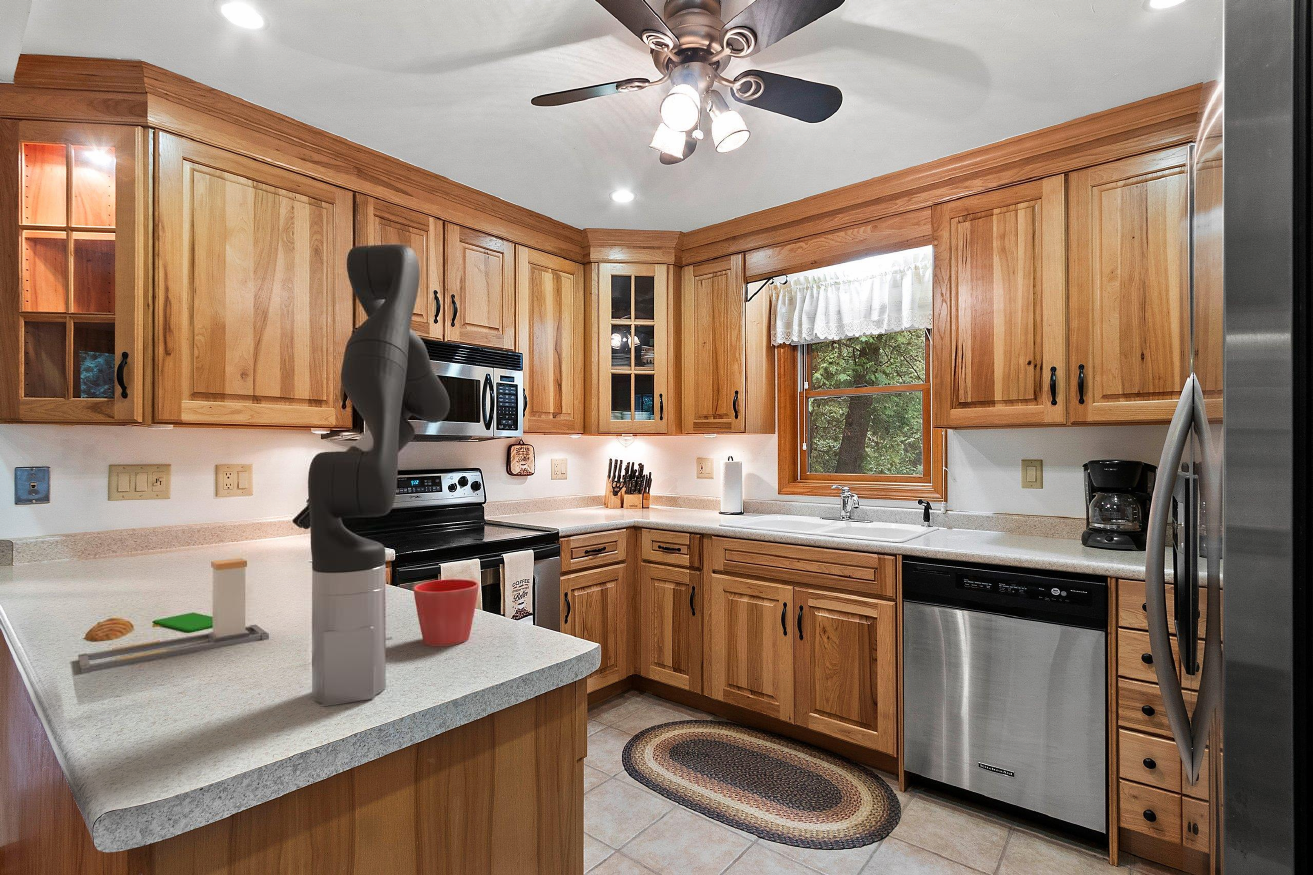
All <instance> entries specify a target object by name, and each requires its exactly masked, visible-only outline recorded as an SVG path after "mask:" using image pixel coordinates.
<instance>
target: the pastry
mask: <svg viewBox="0 0 1313 875" xmlns="http://www.w3.org/2000/svg"><path fill="white" fill-rule="evenodd" d="M133 631H135V626H134V624H133V623H132V622H131V621H129V620H127V619H125V618H120V617H110V618H107V619H105V620H103V621H98V622H97V623H96V624H95V625H93V626H92V627H91V628H90V629H89V630H87V632H86V633H85V635H84V639H85V640H87V641H90V642H95V643H96V642H99V643H100V642H108V641H113V640H117V639H121V638H122V637H125V636H127V635H129V634H130V633H133Z"/></svg>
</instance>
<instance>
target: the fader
mask: <svg viewBox="0 0 1313 875" xmlns="http://www.w3.org/2000/svg"><path fill="white" fill-rule="evenodd" d="M210 567H211V568H212V617H213V627H212V632H208V641H209V643H210V642H216V641H222V640H227V639H233V638H238V637H244V636H249V635H250V632H248V631H247V630H246V629H245V627H246V568H247V567H248V560H246V559H243V558H242V557H238V558H230V559H221V560H220V559H219V560H211V561H210Z"/></svg>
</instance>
